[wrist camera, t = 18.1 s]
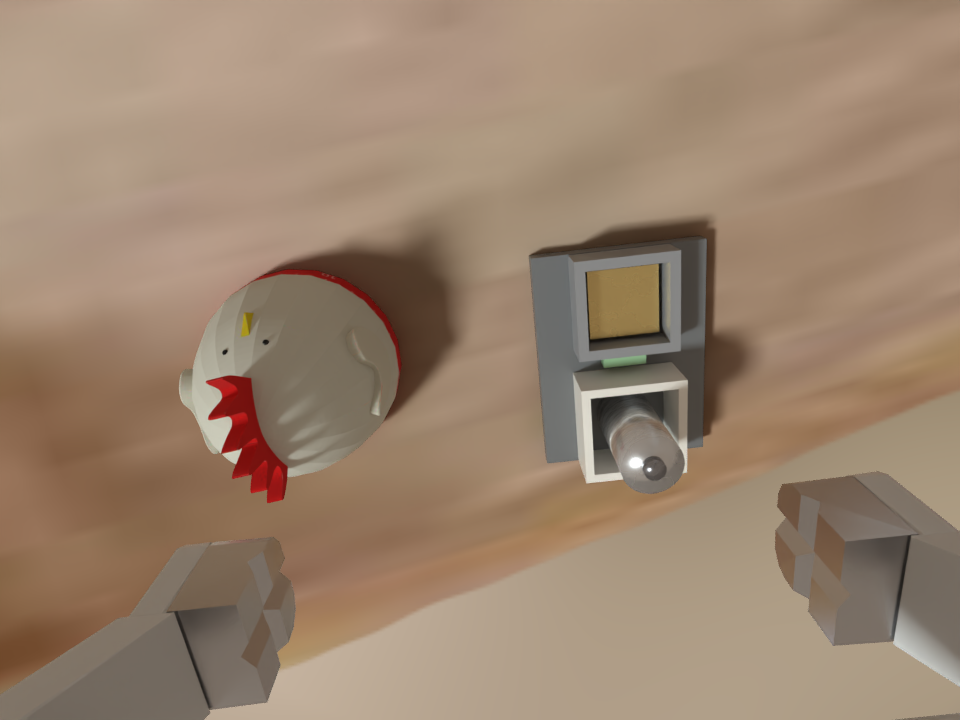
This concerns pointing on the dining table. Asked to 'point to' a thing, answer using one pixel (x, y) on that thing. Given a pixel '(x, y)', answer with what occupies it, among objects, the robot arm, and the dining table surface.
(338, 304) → the kitchen timer
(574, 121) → the dining table surface
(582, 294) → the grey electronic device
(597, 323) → the plate
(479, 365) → the dining table surface
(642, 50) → the dining table surface
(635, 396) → the cell
